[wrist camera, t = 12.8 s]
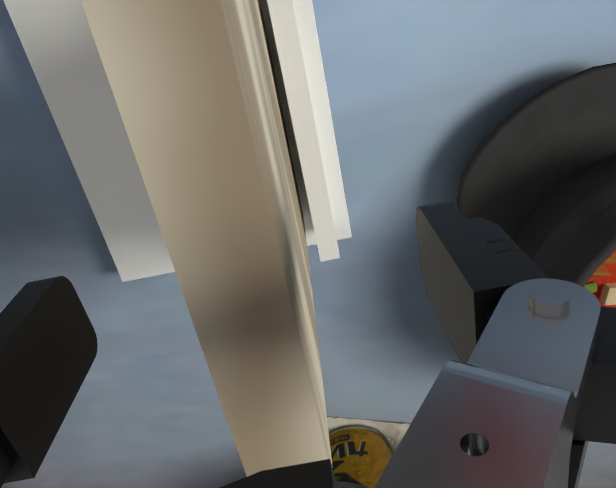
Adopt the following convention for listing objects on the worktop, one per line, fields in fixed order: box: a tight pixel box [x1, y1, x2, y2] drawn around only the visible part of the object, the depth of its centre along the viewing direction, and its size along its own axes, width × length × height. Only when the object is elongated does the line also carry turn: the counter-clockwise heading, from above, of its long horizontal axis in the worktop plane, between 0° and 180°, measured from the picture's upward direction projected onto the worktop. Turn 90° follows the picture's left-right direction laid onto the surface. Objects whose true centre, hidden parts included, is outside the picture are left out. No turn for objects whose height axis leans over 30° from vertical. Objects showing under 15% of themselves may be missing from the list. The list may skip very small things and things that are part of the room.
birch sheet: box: [81, 0, 333, 477], centre depth 18 cm, size 2×12×18 cm, turn 10°
